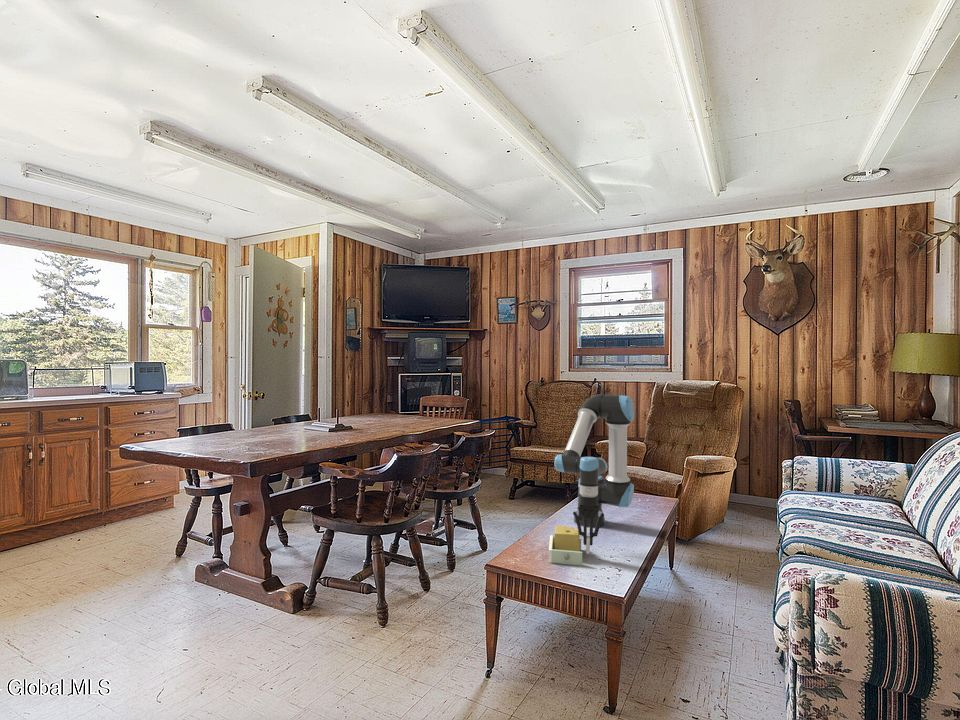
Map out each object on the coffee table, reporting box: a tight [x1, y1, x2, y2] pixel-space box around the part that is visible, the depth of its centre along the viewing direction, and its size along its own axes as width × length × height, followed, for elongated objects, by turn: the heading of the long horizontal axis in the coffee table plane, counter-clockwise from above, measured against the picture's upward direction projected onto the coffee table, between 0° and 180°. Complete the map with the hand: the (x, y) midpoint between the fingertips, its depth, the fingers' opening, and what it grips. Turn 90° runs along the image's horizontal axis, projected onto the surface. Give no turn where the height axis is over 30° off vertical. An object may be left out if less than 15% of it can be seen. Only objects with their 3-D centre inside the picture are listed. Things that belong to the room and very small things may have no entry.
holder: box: [548, 534, 583, 566], centre depth 212 cm, size 19×13×5 cm
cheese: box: [554, 525, 581, 552], centre depth 214 cm, size 10×11×10 cm
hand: (587, 552), depth 210 cm, fingers closed
